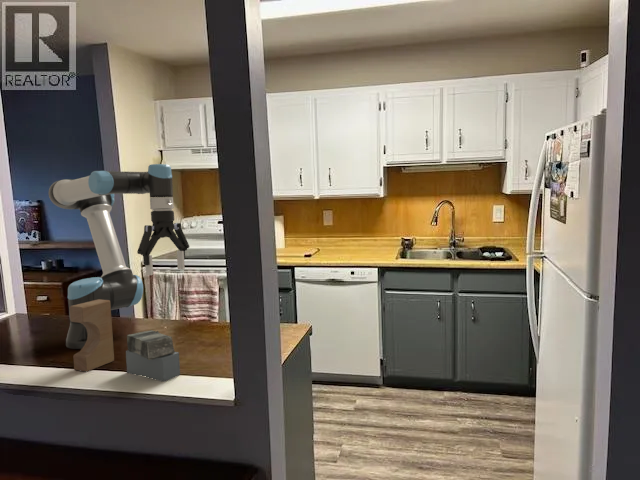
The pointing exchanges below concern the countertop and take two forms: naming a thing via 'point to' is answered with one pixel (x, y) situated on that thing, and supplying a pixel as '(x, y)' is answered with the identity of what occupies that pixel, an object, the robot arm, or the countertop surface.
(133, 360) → the block
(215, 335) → the countertop surface
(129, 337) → the stone block
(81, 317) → the decorative block
